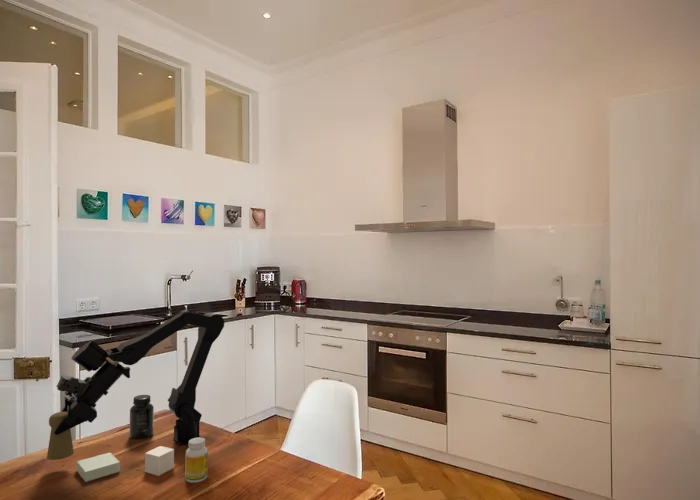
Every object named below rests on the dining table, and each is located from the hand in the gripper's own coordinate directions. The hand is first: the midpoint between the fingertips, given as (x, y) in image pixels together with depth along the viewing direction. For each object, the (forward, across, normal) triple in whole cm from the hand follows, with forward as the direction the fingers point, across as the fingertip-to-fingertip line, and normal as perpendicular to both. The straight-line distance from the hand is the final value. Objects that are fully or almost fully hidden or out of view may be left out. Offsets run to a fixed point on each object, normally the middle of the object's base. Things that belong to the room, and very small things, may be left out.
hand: (54, 430), depth 120 cm
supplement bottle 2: (-12, +26, +28) cm, 40 cm away
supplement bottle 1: (-9, -12, +25) cm, 29 cm away
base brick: (+1, +7, +14) cm, 16 cm away
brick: (-8, +16, +23) cm, 29 cm away
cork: (+4, 0, +6) cm, 7 cm away
